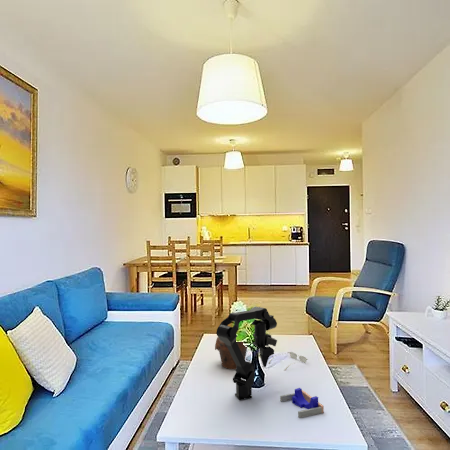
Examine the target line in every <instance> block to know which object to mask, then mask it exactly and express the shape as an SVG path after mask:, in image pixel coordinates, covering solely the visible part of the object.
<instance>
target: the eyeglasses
mask: <svg viewBox="0 0 450 450" xmlns="http://www.w3.org/2000/svg"><path fill="white" fill-rule="evenodd" d="M284 354H289V357H290V358H291V359H294V360H297V357H298V359H299V363H305V364H306V363H307V360H309V359H308V358H307V357H306V356H304V355H298V354H296V353H295V352H293V351H287V352H286V353H283V355H284ZM279 355H280V356H281V355H282V353H281V354H277V355H275V356H273V357H272V358H271V359H270V360H268V362H267V364H268V365H270V364H271V363H272V362H271V361H272V360H273V359H274V358H275V357H277V356H279ZM293 364H295V362H293V363H290V364H289V365H288V366H286V367H285V368H284V369H283V371H284V372H285V371H287V369H288V368H289V367H290V366H291V365H293Z"/></svg>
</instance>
